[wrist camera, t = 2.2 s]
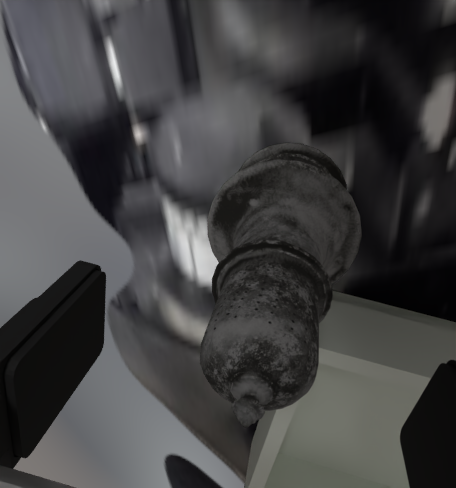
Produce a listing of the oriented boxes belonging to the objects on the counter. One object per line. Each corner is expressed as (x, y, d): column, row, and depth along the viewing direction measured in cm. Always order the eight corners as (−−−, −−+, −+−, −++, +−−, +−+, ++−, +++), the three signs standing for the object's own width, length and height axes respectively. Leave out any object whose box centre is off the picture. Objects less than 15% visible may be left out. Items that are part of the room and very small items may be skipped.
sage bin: (304, 283, 20) (300, 342, 16) (584, 355, 19) (649, 437, 15) (251, 441, 27) (240, 508, 23) (454, 501, 26) (476, 583, 22)
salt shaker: (351, 256, 19) (388, 530, 9) (231, 254, 20) (140, 491, 10) (358, 131, 16) (421, 317, 6) (219, 139, 18) (74, 302, 7)
